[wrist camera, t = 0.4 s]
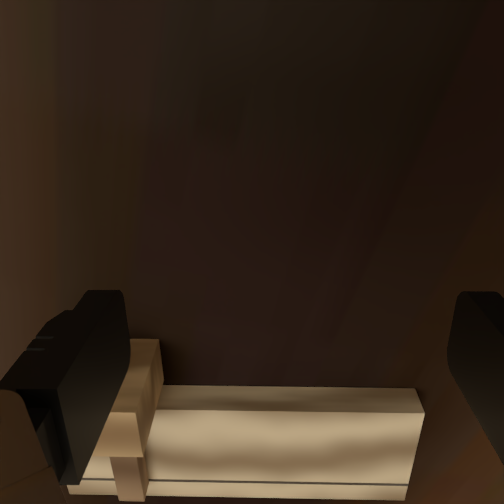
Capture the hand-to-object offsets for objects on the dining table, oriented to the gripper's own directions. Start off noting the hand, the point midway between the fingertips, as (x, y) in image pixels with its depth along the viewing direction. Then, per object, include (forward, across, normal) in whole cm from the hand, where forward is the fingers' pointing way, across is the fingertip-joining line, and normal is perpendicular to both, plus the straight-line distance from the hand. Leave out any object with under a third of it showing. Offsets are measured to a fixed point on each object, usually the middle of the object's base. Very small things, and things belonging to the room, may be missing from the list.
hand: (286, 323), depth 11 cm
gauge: (+19, +11, +19) cm, 29 cm away
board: (+19, +3, +23) cm, 30 cm away
